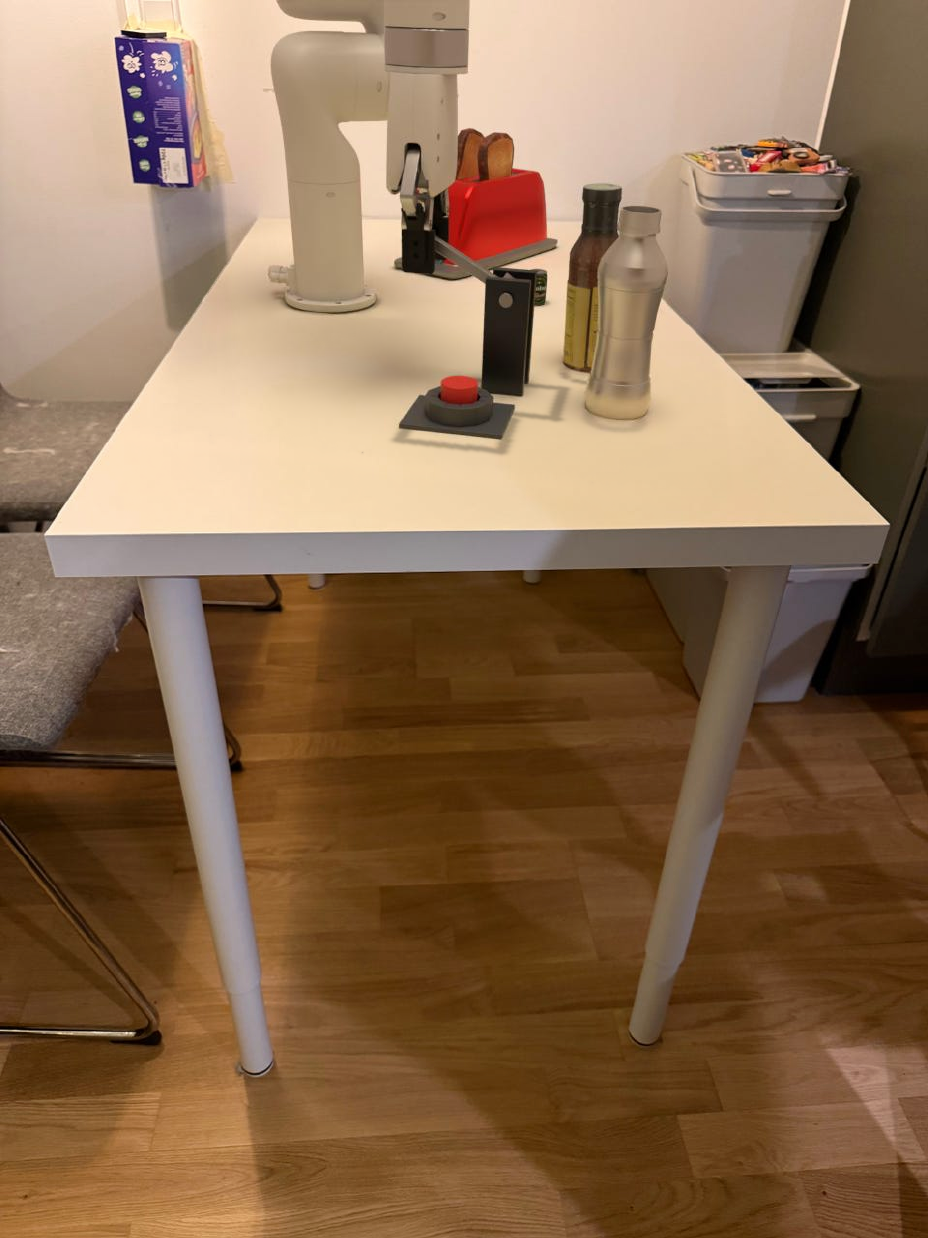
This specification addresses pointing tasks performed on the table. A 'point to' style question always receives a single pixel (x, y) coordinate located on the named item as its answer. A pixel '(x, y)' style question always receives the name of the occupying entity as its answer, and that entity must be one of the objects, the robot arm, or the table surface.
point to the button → (459, 390)
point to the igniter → (459, 415)
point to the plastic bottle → (627, 317)
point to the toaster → (492, 206)
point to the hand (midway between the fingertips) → (425, 263)
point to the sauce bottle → (588, 272)
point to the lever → (462, 259)
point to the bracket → (508, 331)
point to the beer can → (540, 286)
